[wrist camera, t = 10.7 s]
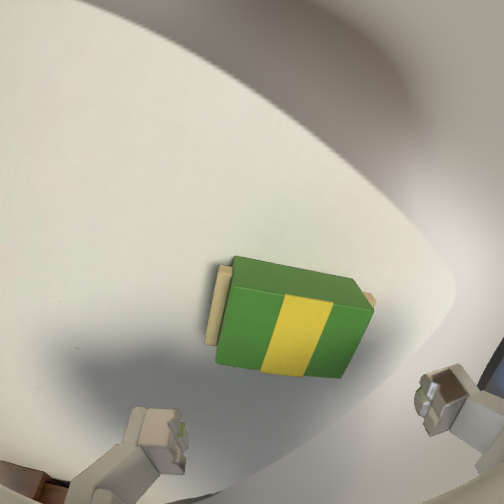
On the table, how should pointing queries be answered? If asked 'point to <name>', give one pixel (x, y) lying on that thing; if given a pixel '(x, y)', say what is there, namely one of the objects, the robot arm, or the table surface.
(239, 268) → the green banded block
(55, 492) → the drawer
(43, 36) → the table surface
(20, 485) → the cabinet
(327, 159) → the table surface
